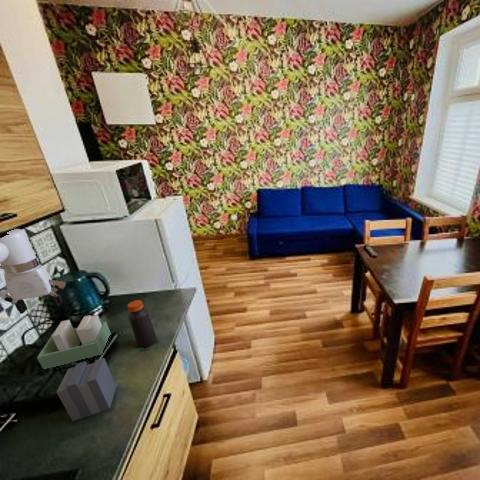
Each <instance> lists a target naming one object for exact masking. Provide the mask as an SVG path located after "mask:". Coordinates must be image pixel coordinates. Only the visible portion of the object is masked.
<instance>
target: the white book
mask: <svg viewBox="0 0 480 480" xmlns="http://www.w3.org/2000/svg"><path fill="white" fill-rule="evenodd" d="M74 329H75V328H74V327H73V324H72V323H71V320H70V319H66V320H62V321H60V322H59V324H58V326H57V327H56V329H55V330H54V331H53V333H52V334H53V335H52V334H51V336H52V338H53V340H54V342H55V344H56V346H57V348H58V350H59V351H61V350H65V349H69V348H73V347H77V346H79V345H80V342H79V340H78V338H77V336H76V333H75V331H74Z"/></svg>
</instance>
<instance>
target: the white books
mask: <svg viewBox="0 0 480 480" xmlns="http://www.w3.org/2000/svg"><path fill="white" fill-rule="evenodd" d="M101 322H102V321H101V319H100V317H99V315H98V314H96V315H89V314H88V315H85V316H83V318H82V320H81V321H80V322H79V325H78V326H77V327H76V328H77V330H76V332H77V334H78V336H79V338H80V340H81V343H82V345H85V344H89V343H93V342H95V340H96V338H97V336H98V334H99V331H100V329H101V327H102V324H101Z"/></svg>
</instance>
